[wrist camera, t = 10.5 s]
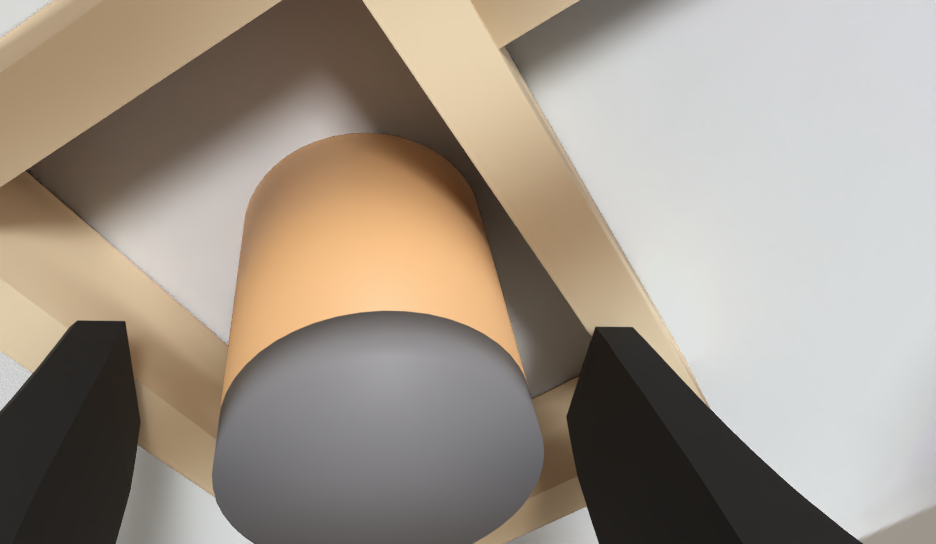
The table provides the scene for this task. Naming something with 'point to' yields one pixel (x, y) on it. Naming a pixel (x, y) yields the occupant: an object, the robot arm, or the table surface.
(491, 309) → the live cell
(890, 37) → the table surface
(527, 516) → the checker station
